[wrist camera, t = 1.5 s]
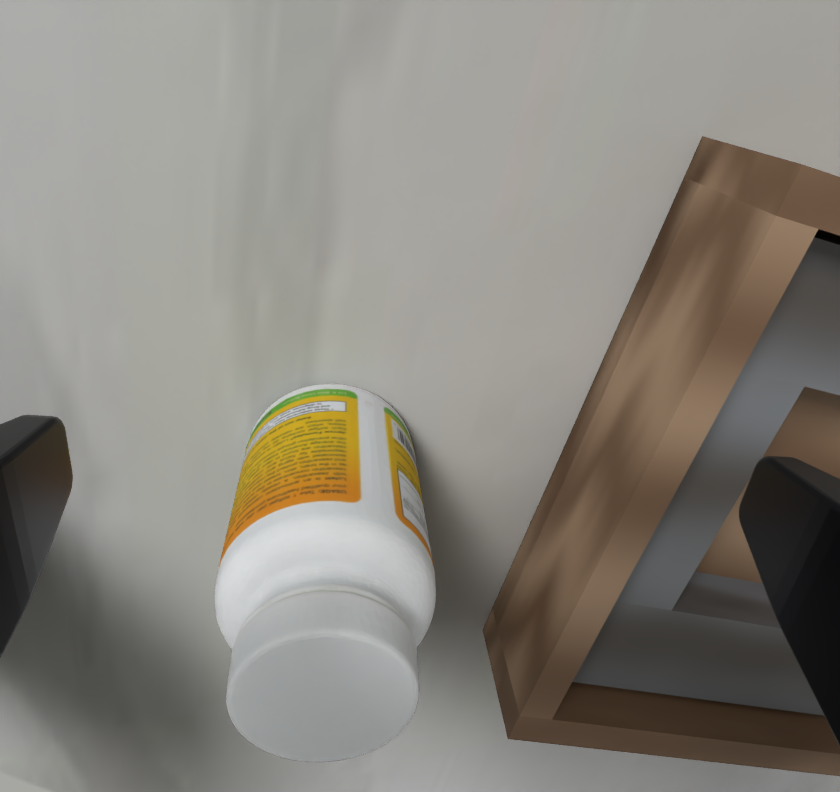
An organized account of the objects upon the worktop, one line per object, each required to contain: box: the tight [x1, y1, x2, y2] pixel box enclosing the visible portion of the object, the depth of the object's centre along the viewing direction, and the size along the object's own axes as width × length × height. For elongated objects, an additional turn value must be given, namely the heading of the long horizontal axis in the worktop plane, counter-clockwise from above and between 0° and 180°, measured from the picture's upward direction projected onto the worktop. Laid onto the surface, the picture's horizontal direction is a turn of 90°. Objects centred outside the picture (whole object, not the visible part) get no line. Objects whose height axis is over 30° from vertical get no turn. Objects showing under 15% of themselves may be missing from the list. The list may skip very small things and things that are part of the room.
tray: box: [483, 136, 840, 776], centre depth 24 cm, size 20×18×5 cm
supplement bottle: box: [215, 384, 436, 762], centre depth 19 cm, size 6×6×10 cm
